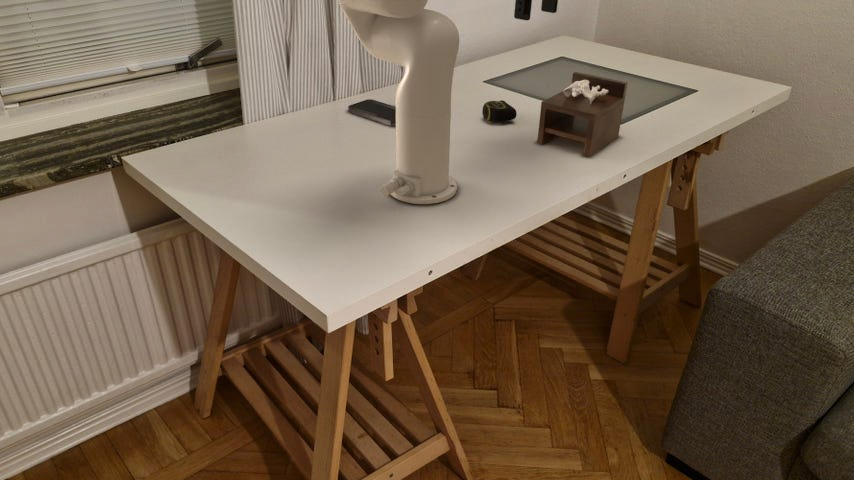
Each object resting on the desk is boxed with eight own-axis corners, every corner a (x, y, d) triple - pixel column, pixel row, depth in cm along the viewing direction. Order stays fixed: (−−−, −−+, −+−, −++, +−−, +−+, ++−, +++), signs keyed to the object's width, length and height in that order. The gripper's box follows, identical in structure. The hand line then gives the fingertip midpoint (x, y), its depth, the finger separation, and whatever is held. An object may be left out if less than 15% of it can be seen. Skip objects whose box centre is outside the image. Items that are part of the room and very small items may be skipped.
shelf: (588, 157, 140) (597, 99, 134) (537, 143, 147) (542, 87, 140) (618, 137, 150) (627, 82, 143) (568, 124, 156) (575, 71, 149)
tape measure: (517, 123, 156) (518, 107, 154) (488, 126, 155) (490, 110, 153) (504, 113, 162) (505, 98, 160) (477, 116, 160) (478, 100, 158)
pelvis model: (612, 83, 140) (591, 86, 137) (608, 103, 142) (587, 107, 139) (581, 73, 146) (561, 76, 142) (577, 93, 148) (557, 96, 144)
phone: (369, 98, 167) (415, 112, 158) (369, 103, 167) (415, 117, 159) (345, 106, 162) (392, 121, 153) (345, 111, 162) (392, 126, 154)
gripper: (539, -81, 116) (528, 25, 125) (588, -86, 128) (574, 12, 137) (501, -84, 120) (493, 19, 129) (552, -88, 132) (542, 6, 141)
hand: (535, 15), depth 133 cm, fingers open, 9 cm apart
